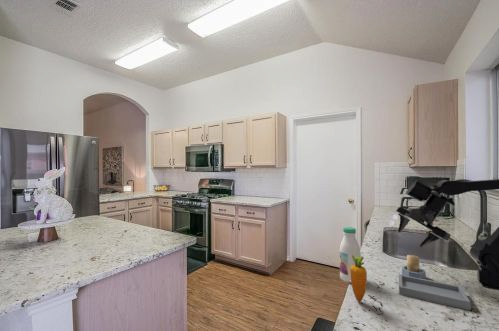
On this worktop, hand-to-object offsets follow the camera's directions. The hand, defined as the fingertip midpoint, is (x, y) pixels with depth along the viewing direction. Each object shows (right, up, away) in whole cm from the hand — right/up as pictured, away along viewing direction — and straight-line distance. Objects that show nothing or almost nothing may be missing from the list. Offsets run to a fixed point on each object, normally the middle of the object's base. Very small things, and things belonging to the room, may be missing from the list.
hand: (409, 239), depth 94 cm
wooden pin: (0, -14, -3) cm, 14 cm away
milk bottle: (-26, -14, -5) cm, 30 cm away
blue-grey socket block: (0, -14, -3) cm, 14 cm away
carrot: (-31, -14, -21) cm, 40 cm away
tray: (-4, -14, -16) cm, 21 cm away
